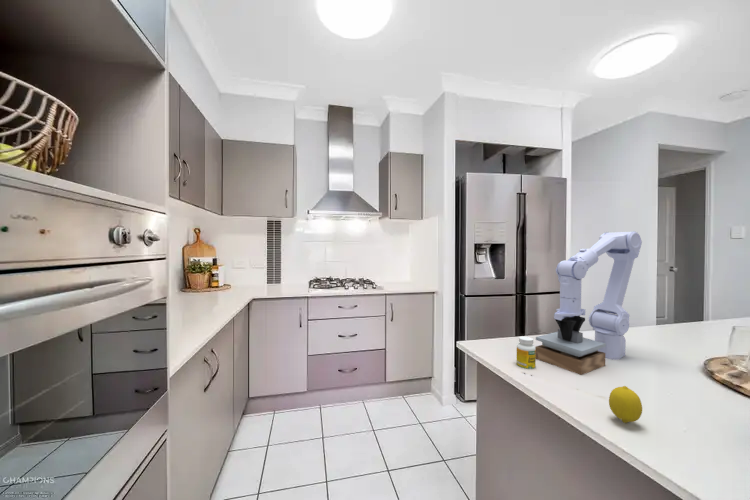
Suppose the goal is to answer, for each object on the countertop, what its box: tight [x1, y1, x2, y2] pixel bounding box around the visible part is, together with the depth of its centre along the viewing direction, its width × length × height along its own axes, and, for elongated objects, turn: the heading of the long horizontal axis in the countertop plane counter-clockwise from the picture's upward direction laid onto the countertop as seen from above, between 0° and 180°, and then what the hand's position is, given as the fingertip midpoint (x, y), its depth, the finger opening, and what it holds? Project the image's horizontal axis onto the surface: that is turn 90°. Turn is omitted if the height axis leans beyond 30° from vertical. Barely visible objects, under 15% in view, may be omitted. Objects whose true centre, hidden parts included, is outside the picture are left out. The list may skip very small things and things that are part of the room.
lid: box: [535, 328, 606, 357], centre depth 95 cm, size 14×14×6 cm
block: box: [561, 352, 576, 358], centre depth 96 cm, size 4×4×2 cm
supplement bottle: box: [516, 335, 537, 370], centre depth 92 cm, size 5×5×10 cm
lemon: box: [608, 385, 643, 424], centre depth 64 cm, size 6×6×8 cm
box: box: [535, 344, 606, 376], centre depth 95 cm, size 14×14×5 cm
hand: (569, 339), depth 95 cm, fingers closed on lid, 3 cm apart
